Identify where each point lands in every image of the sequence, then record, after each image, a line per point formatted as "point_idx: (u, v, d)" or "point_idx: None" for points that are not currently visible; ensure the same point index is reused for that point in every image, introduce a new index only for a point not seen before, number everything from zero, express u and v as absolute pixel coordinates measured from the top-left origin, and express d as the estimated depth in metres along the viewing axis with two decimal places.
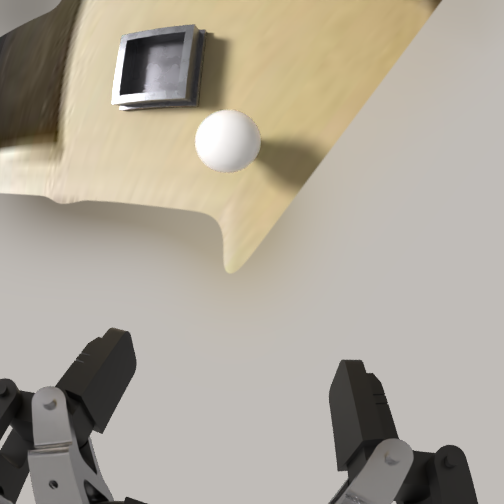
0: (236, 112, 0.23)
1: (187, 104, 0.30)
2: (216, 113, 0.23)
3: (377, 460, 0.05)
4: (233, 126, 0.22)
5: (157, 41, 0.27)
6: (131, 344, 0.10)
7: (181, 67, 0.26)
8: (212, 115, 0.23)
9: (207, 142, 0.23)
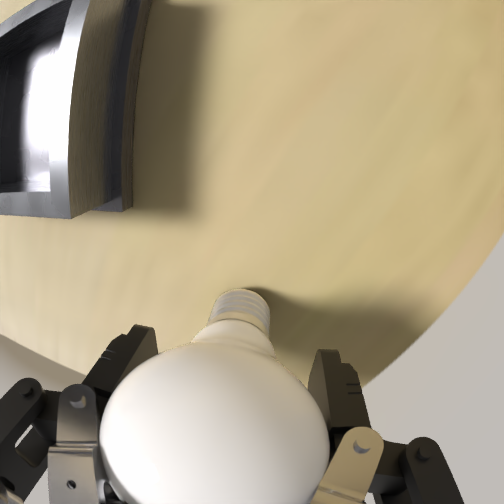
0: (242, 453, 0.04)
1: (102, 207, 0.11)
2: (144, 447, 0.04)
3: (346, 450, 0.05)
4: None
5: (36, 38, 0.07)
6: (155, 340, 0.10)
7: (53, 110, 0.07)
8: (130, 449, 0.04)
9: None
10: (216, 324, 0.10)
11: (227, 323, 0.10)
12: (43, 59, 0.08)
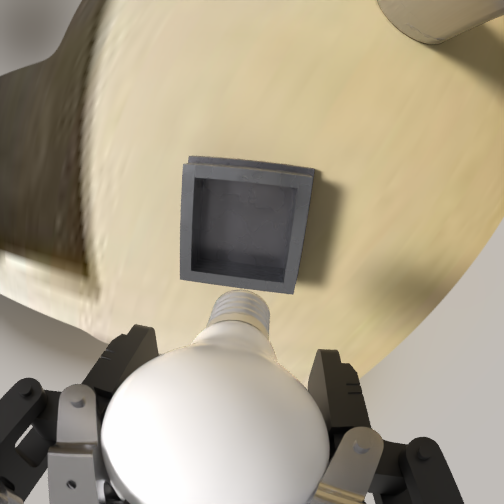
0: (243, 454, 0.04)
1: None
2: (146, 448, 0.04)
3: (346, 449, 0.05)
4: None
5: None
6: (155, 340, 0.10)
7: (290, 250, 0.23)
8: (131, 450, 0.04)
9: None
10: (216, 325, 0.10)
11: (227, 324, 0.10)
12: (243, 191, 0.24)
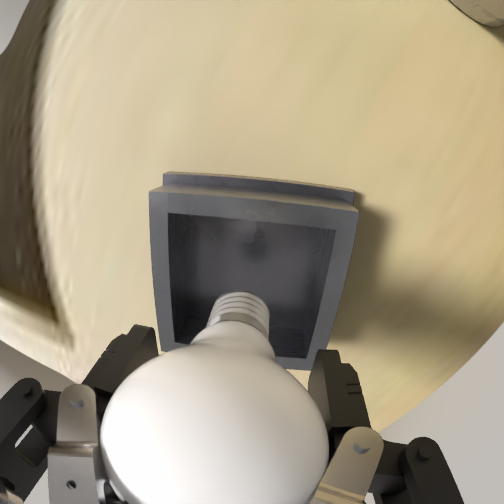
0: (242, 454, 0.04)
1: None
2: (145, 448, 0.04)
3: (346, 450, 0.05)
4: None
5: None
6: (155, 340, 0.10)
7: (319, 320, 0.15)
8: (130, 450, 0.04)
9: None
10: (216, 325, 0.10)
11: (227, 324, 0.10)
12: (247, 227, 0.16)
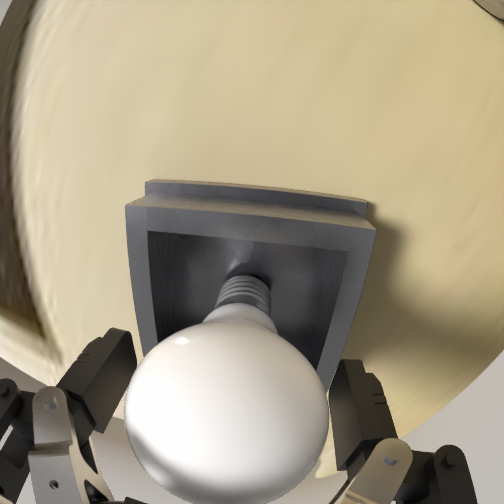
0: (256, 408, 0.05)
1: None
2: (172, 408, 0.05)
3: (376, 460, 0.05)
4: (249, 485, 0.05)
5: None
6: (132, 344, 0.10)
7: (325, 351, 0.12)
8: (159, 413, 0.05)
9: (166, 489, 0.05)
10: (224, 307, 0.11)
11: (234, 305, 0.11)
12: (242, 244, 0.14)
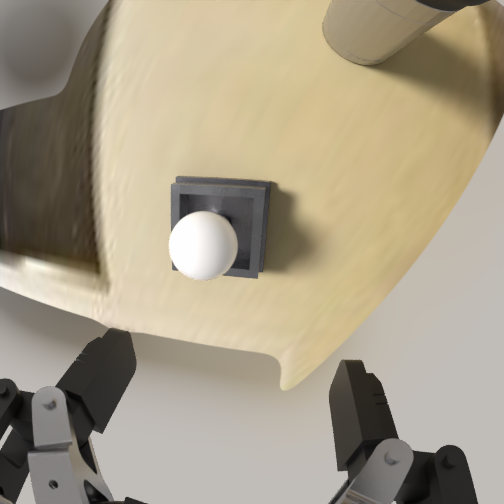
0: (208, 220, 0.23)
1: None
2: (187, 222, 0.23)
3: (377, 460, 0.05)
4: (205, 242, 0.22)
5: None
6: (131, 344, 0.10)
7: (252, 244, 0.30)
8: (183, 224, 0.23)
9: (179, 258, 0.23)
10: None
11: None
12: (217, 202, 0.32)
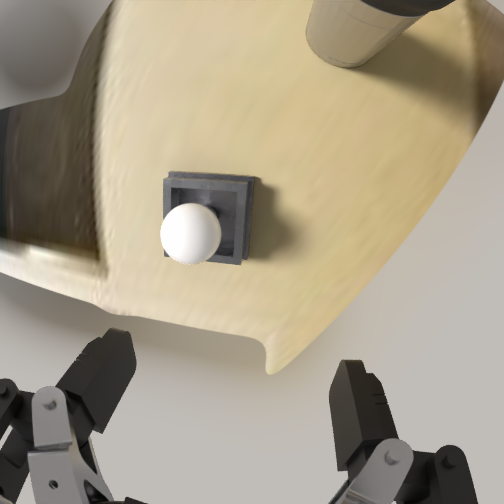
0: (195, 211, 0.26)
1: None
2: (176, 212, 0.26)
3: (377, 460, 0.05)
4: (191, 230, 0.26)
5: None
6: (131, 344, 0.10)
7: (235, 234, 0.33)
8: (173, 214, 0.26)
9: (169, 244, 0.26)
10: None
11: None
12: (206, 195, 0.35)
